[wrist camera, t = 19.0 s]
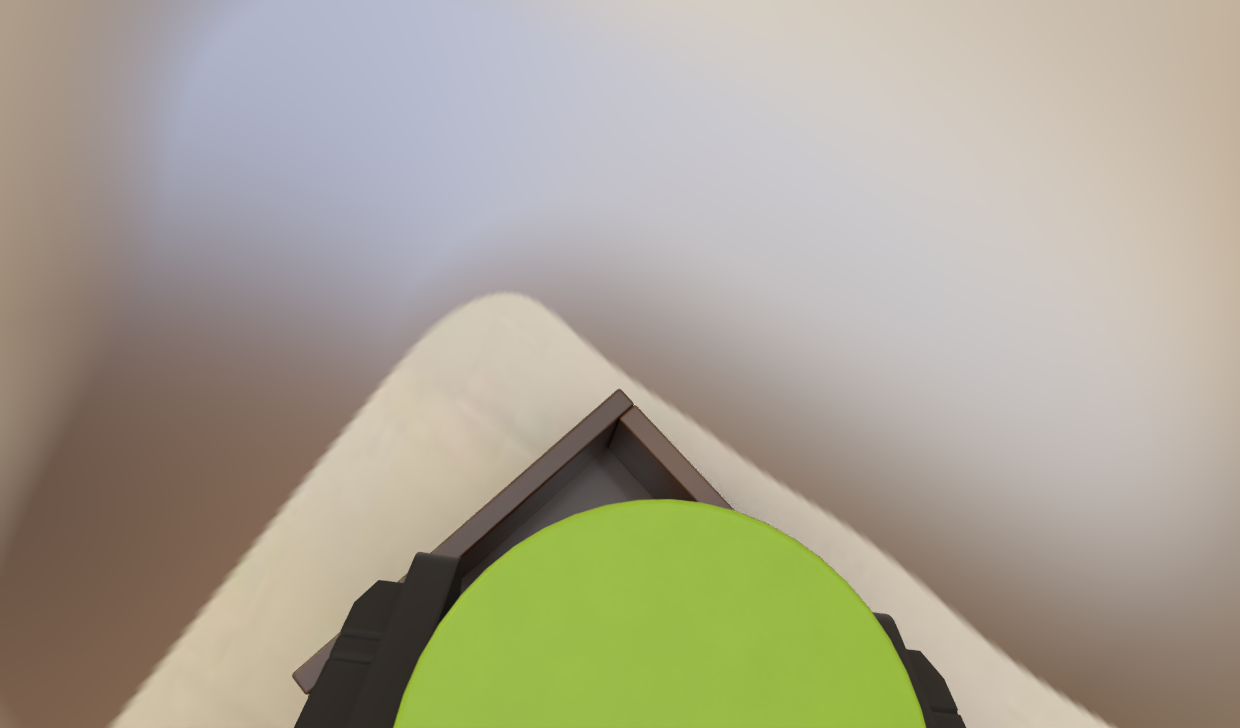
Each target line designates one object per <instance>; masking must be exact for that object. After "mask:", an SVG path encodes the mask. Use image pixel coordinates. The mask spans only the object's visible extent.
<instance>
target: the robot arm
mask: <svg viewBox="0 0 1240 728" xmlns="http://www.w3.org/2000/svg"><path fill="white" fill-rule="evenodd" d="M462 568H463V560H462V558H461V557H454V556H446V555H439V554H431V553H423V552H418V553H417V554H416V555H415V557H414V559H413V562H412V564H411V566H410V569H409V571H408V574H407V576H406V579H405V581H404V583H398V582H390V581H382V580H378V581H377V582H376V583H375V584H374V585H373V586H372V587H371V588H370V589H368V590H367V591H366V592H365V593H364V594H363V595H362V596H361V597H360V598H359V599H358V600H356V601H355V602H354V604H353V606H352V608H351V610H350V612H349V615H348V617H347V619H346V621H345V623H344V625H343V627H342V629H341V633H340V636H338V637H337V639H336V642H335V644H334V646H333V648H332V650H331V652H330V656H329V659H328V660H326V662H325V664H324V666H323V668H322V671H321V673H320V675H319V677H318V679H317V681H316V683H315V685H314V687H313V689H312V691H311V693H310V695H309V698H308V700H307V702H306V704H305V706H304V708H303V710H302V712H301V714H300V716H299V718H298V720H297V722H296V725H295V727H294V728H393V726H394V723H395V720H396V716H397V713H398V710H399V707H400V703H401V700H402V697H403V694H404V692H405V689H406V687H407V685H408V682H409V680H410V678H411V676H412V673H413V671H414V669H415V666H416V664H417V662H418V659H419V657H420V656H421V654H422V652H423V651H424V649H425V647H426V645H427V644H428V642H429V640H430V639H431V637H432V635H433V633H434V632H435V630H436V628H437V627H438V625H439V623H440V622H441V621H442V620H443V618H444V617H445V616H446V614H447V613H448V612H449V610H450V609H451V608H452V606H453V605H454V604H455V602H456V601H457V600H458V598H459V597H460V596H461V585H462ZM872 613H873V614H874V616H875V617H876V619H877V620H878V622H879V623H880V625H881V626H882V628H883V629H884V631H885V632H886V634H887V635H888V637H889V638H890V640H891V642H892V644H893V646H894V648H895V650H896V652H897V654H898V656H899V657H900V659H901V661H902V663H903V665H904V667H905V669H906V671H907V673H908V676H909V678H910V681H911V684H912V686H913V689H914V691H915V694H916V697H917V699H918V702H919V704H920V707H921V710H922V714H923V718H924V721H925V725H926V728H966V727H965V724H964V722H963V720H962V718H961V715H958V713H957V710H958V709H957V707H956V704H955V702H954V700H953V698H952V695H951V693H950V691H949V689H948V687H947V684H946V682H945V680H944V678H943V677H942V676H941V675H940V674H939V672H938V671H937V670H936V669H935V668H934V667H933V665H932V664H931V663H930V662H929V661H928V660H927V658H926V657H925V656H924V655H923V654H922V653H921V651H916V650H908V649H906V648H905V645H904V643H903V641H902V638H901V636H900V633H899V631H898V628H897V626H896V624H895V622H894V620H893V618H892V617H891V616H890V615H888V614H881V613H874V612H872Z"/></svg>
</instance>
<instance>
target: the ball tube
mask: <svg viewBox="0 0 1240 728" xmlns="http://www.w3.org/2000/svg"><path fill="white" fill-rule="evenodd" d="M393 728H926V725H925V721H924V718H923V714H922V710H921V707H920V704H919V702H918V699H917V697H916V694H915V691H914V689H913V686H912V684H911V681H910V678H909V676H908V673H907V671H906V669H905V667H904V665H903V663H902V661H901V659H900V657H899V656H898V654H897V652H896V650H895V648H894V646H893V644H892V642H891V640H890V638H889V637H888V635H887V634H886V632H885V631H884V629H883V628H882V626H881V625H880V623H879V622H878V620H877V619H876V617H875V616H874V614H873V613H872V611H871V610H870V608H869V607H868V606H867V605H866V604H865V603H864V601H863V600H862V599H861V598H860V597H859V596H858V594H857V593H856V592H855V591H854V590H853V589H852V587H851V586H850V585H849V584H848V583H847V582H846V581H845V580H844V579H843V578H842V577H841V576H840V575H839V574H838V573H837V572H836V571H835V570H834V569H832V568H831V567H830V566H829V565H828V564H827V563H826V562H825V561H824V560H823V559H822V558H820V557H819V556H818V555H816V554H815V553H813V552H812V551H811V550H809V549H808V548H806V547H805V546H804V545H802V544H801V543H800V542H798V541H797V540H795V539H794V538H792V537H790V536H789V535H787V534H785V533H783V532H781V531H779V530H778V529H776V528H774V527H772V526H770V525H769V524H767V523H765V522H762V521H760V520H757V519H755V518H752V517H750V516H747V515H744V514H742V513H739V512H737V511H734V510H730V509H726V508H722V507H718V506H714V505H710V504H706V503H701V502H692V501H683V500H674V499H655V500H635V501H628V502H622V503H615V504H609V505H604V506H601V507H598V508H594V509H591V510H588V511H584V512H581V513H577V514H574V515H572V516H570V517H568V518H565V519H563V520H561V521H559V522H556V523H554V524H552V525H550V526H547V527H545V528H543V529H542V530H540V531H538V532H537V533H535V534H533V535H532V536H530V537H529V538H527V539H525V540H524V541H522V542H520V543H519V544H517V545H515V546H514V547H513V548H512V549H510V550H509V551H508V552H507V553H505V554H504V555H503V556H502V557H500V558H499V559H498V560H497V561H495V562H494V563H493V564H492V565H490V566H489V567H488V568H487V569H486V570H485V571H484V572H483V573H482V574H481V575H480V576H479V577H478V578H477V579H476V580H475V581H474V582H473V583H472V584H471V585H470V586H469V587H468V588H467V589H466V590H465V591H464V592H463V593H462V594H461V596H460V597H459V598H458V600H457V601H456V602H455V604H454V605H453V606H452V608H451V609H450V610H449V612H448V613H447V614H446V616H445V617H444V618H443V620H442V621H441V622H440V623H439V625H438V627H437V628H436V630H435V632H434V633H433V635H432V637H431V639H430V640H429V642H428V644H427V645H426V647H425V649H424V651H423V652H422V654H421V656H420V657H419V659H418V662H417V664H416V666H415V669H414V671H413V673H412V676H411V678H410V680H409V682H408V685H407V687H406V689H405V692H404V694H403V697H402V700H401V703H400V707H399V710H398V713H397V716H396V720H395V723H394V726H393Z"/></svg>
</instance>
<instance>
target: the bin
mask: <svg viewBox="0 0 1240 728" xmlns="http://www.w3.org/2000/svg"><path fill="white" fill-rule="evenodd" d="M633 405H634V404H633V402H632V401H631V400H630V399H629V398H628V396H627V395H626V394H625V393H624V392H623V391H622V390H621V389H618V390H616V391H615V392H614V393H613V394H612V395H611V396H610V397H608V398H607V399H606V400H605V401H604V402H603V403H602V404H600V405H599V406H598V407H597V408H596V409H595V410H593V411H592V412H591V413H590V414H589V415H588V416H587V417H585V418H584V419H583V420H582V421H581V422H580V423H579V424H577V425H576V426H575V427H574V428H573V429H572V430H571V431H569V432H568V433H567V434H566V435H565V436H564V437H563V438H561V439H560V440H559V441H558V442H557V443H556V444H555V445H553V446H552V447H551V448H550V449H549V450H548V451H547V452H545V453H544V454H543V455H542V456H541V457H540V458H539V459H537V460H536V461H535V462H534V463H533V464H532V465H531V466H529V467H528V468H527V469H526V470H525V471H524V472H523V473H521V474H520V475H519V476H518V477H517V478H516V479H515V480H513V481H512V482H511V483H510V484H509V485H508V486H507V487H505V488H504V489H503V490H502V491H501V492H500V493H499V494H497V495H496V496H495V497H494V498H493V499H492V500H491V501H489V502H488V503H487V504H486V505H485V506H484V507H483V508H481V509H480V510H479V511H478V512H477V513H476V514H475V515H473V516H472V517H471V518H470V519H469V520H468V521H467V522H465V523H464V524H463V525H462V526H461V527H460V528H459V529H457V530H456V531H455V532H454V533H453V534H452V535H451V536H449V537H448V538H447V539H446V540H445V541H444V542H442V543H441V544H440V545H439V546H438V547H437V548H436V549H434V550H433V551H432V552H431V554H439V555H446V556H454V557H461V558H462V560H463V568H462V585H461V594H462V593H463V592H464V591H465V590H466V589H467V588H468V587H469V586H470V585H471V584H472V583H473V582H474V581H475V580H476V579H477V578H478V577H479V576H480V575H481V574H482V573H483V572H484V571H485V570H486V569H487V568H488V567H489V566H490V565H492V564H493V563H494V562H495V561H497V560H498V559H499V558H500V557H502V556H503V555H504V554H505V553H507V552H508V551H509V550H510V549H512V548H513V547H514V546H515V545H517V544H519V543H520V542H522V541H524V540H525V539H527V538H529V537H530V536H532V535H533V534H535V533H537V532H538V531H540V530H542V529H543V528H545V527H547V526H550V525H552V524H554V523H556V522H559V521H561V520H563V519H565V518H568V517H570V516H572V515H574V514H577V513H581V512H584V511H588V510H591V509H594V508H598V507H601V506H604V505H609V504H615V503H622V502H628V501H635V500H655V499H674V500H683V501H692V502H701V503H706V504H710V505H714V506H718V507H722V508H726V509H730V510H734V509H733V508H732V507H731V506H730V505H729V504H728V503H727V502H726V501H725V500H724V498H723V497H722V496H721V495H720V494H719V493H718V492H717V491H716V490H715V489H714V488H713V487H712V486H711V485H710V484H709V483H708V481H707V480H706V479H705V478H704V477H703V476H702V475H701V474H700V473H699V472H698V471H697V470H696V469H695V468H694V467H693V466H692V464H691V463H690V462H689V461H688V460H687V459H686V458H685V457H684V456H683V455H682V454H681V453H680V452H679V451H678V450H677V448H676V447H675V446H674V445H673V444H672V443H671V442H670V441H669V440H668V439H667V438H666V437H665V436H664V435H663V434H662V433H661V431H660V430H659V429H658V428H657V427H656V426H655V425H654V424H653V423H652V422H651V421H650V420H649V419H648V418H647V417H646V416H645V414H644V413H643V412H642V411H641V410H640V409H639V408H638V407H637V406H635V405H634V406H633ZM734 511H735V510H734ZM407 574H408V573H407ZM407 574H406V575H405V576H404V577H402V578H401V579H400V580H399V581H398V583H404V581H405V579H406V576H407ZM340 633H341V632H340ZM340 633H338V634H337V635H336V636H335V637H334V638H333V639H332V640H330V641H329V642H328V643H327V644H326V645H325V646H324V647H322V648H321V649H320V650H319V651H318V652H317V653H316V654H314V655H313V656H312V657H311V658H310V659H309V660H308V661H306V662H305V663H304V664H303V665H302V666H301V667H300V668H298V669H297V670H296V671H295V672H294V673H293V675H292V677H293V679H294V680H295V681H296V683H297V684H298V685H299V687H300V688H301V689H302V691H303V692H304V693H305V694H309V695H310V693H311V691H312V689H313V687H314V685H315V683H316V681H317V679H318V677H319V675H320V673H321V671H322V668H323V666H324V664H325V662H326V660H328V659H329V656H330V652H331V650H332V648H333V646H334V644H335V642H336V639H337V637H338V636H340ZM308 698H309V696H308Z"/></svg>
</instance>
